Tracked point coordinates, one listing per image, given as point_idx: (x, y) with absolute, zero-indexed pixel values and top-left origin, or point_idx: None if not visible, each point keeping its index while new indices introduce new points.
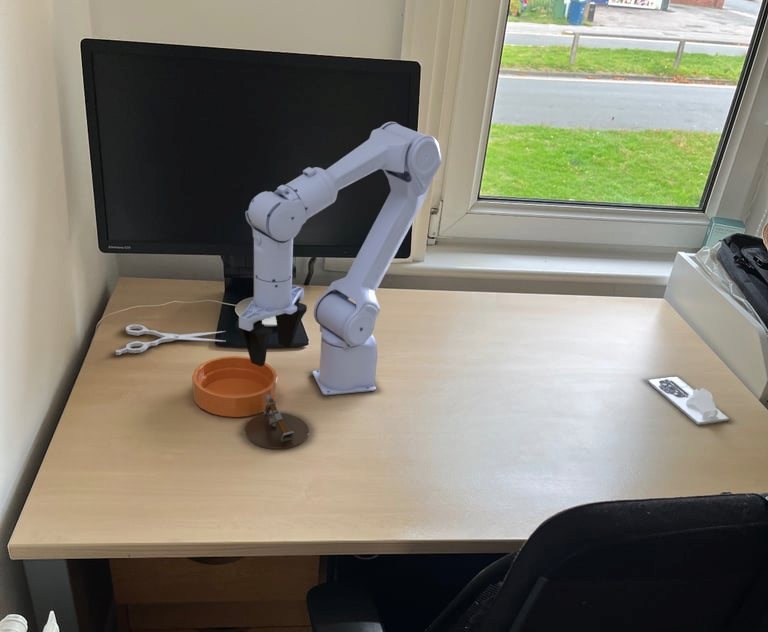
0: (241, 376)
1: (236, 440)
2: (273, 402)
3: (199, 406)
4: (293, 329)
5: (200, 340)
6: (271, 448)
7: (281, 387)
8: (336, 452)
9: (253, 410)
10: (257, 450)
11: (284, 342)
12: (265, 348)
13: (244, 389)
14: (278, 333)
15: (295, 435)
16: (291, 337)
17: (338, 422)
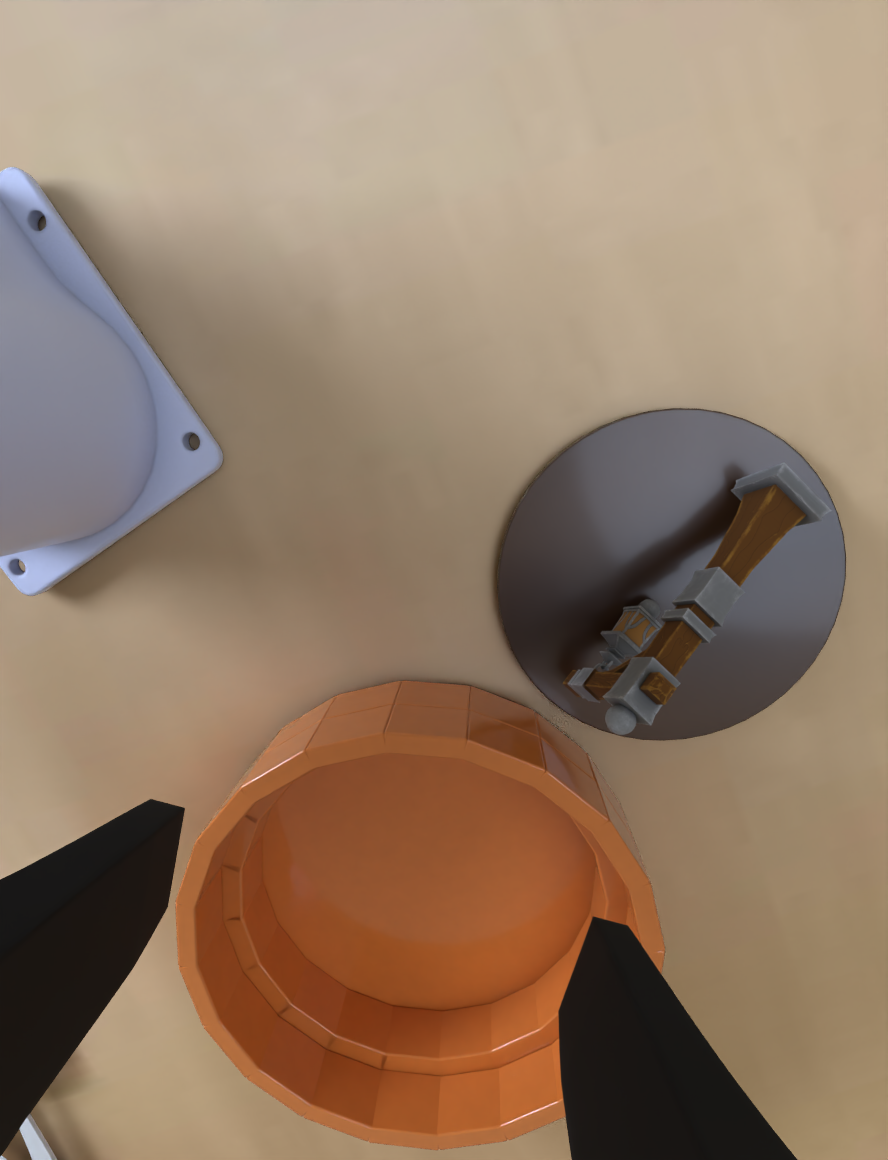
0: (264, 901)
1: (798, 736)
2: (656, 669)
3: None
4: (22, 945)
5: (48, 1148)
6: (843, 553)
7: (245, 696)
8: (770, 194)
9: (573, 750)
10: (861, 615)
11: (153, 886)
12: (711, 1111)
13: (360, 850)
14: (94, 1017)
15: (694, 473)
16: (110, 874)
17: (455, 289)
